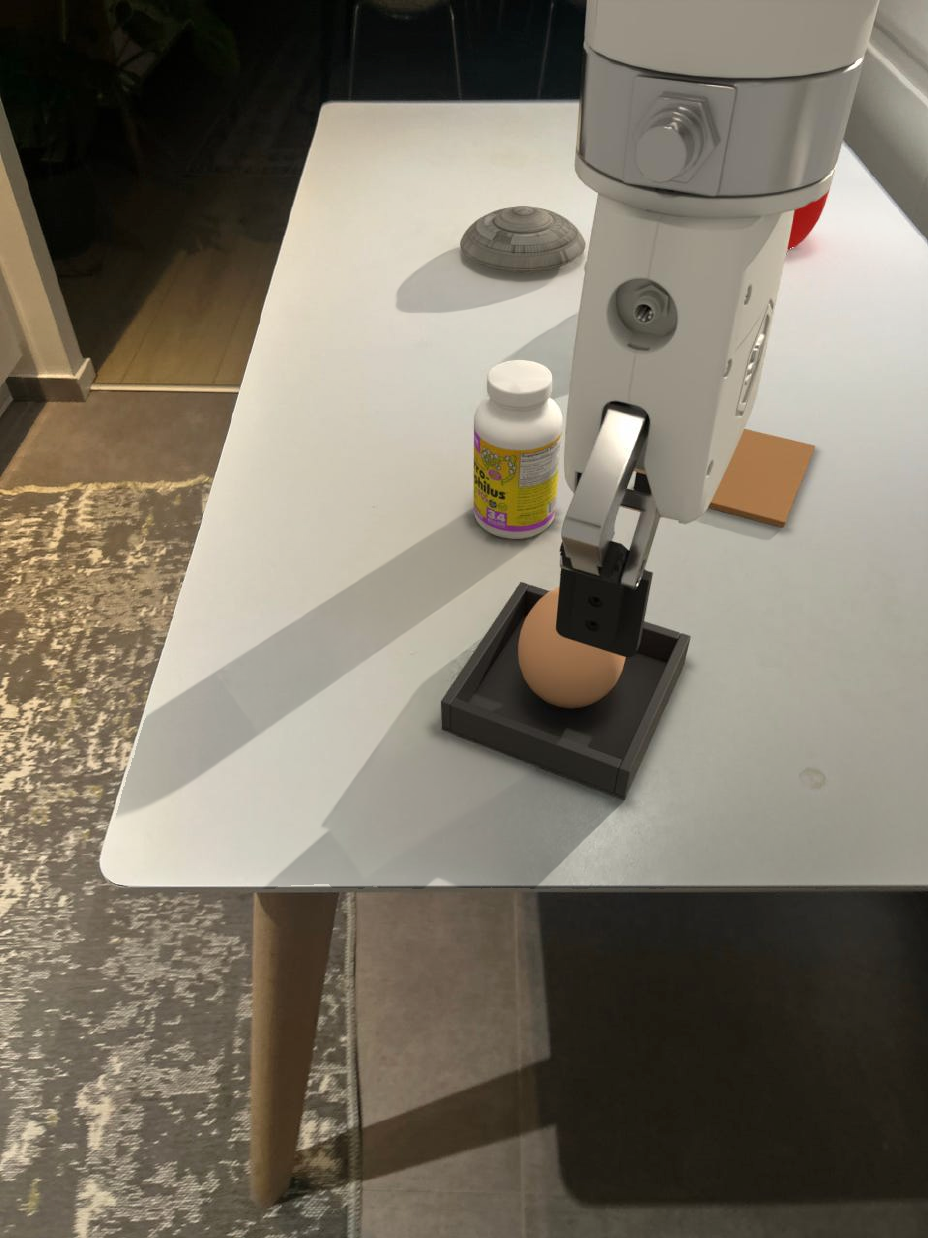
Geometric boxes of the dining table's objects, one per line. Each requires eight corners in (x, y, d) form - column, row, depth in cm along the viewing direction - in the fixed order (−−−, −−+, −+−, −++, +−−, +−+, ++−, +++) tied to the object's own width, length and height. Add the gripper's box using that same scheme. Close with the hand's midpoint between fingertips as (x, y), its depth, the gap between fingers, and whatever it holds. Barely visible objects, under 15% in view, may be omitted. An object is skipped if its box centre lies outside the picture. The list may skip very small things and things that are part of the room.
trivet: (813, 451, 81) (815, 445, 81) (783, 528, 74) (785, 522, 73) (681, 419, 85) (682, 413, 85) (639, 489, 77) (640, 483, 77)
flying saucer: (511, 293, 104) (513, 245, 100) (435, 250, 113) (434, 204, 109) (610, 259, 110) (615, 212, 106) (531, 220, 119) (533, 176, 115)
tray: (684, 664, 63) (691, 635, 61) (624, 800, 55) (629, 772, 53) (519, 609, 67) (520, 581, 65) (441, 729, 59) (440, 701, 57)
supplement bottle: (460, 504, 76) (458, 363, 67) (530, 484, 78) (538, 344, 69) (496, 552, 72) (498, 408, 63) (570, 529, 74) (583, 386, 65)
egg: (496, 681, 62) (498, 582, 56) (577, 642, 64) (588, 543, 58) (555, 749, 58) (565, 651, 51) (639, 705, 60) (658, 606, 54)
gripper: (779, 255, 20) (663, 747, 32) (885, 57, 31) (769, 477, 43) (462, 201, 22) (466, 678, 34) (667, 35, 33) (615, 439, 45)
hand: (635, 566), depth 38 cm, fingers open, 9 cm apart
